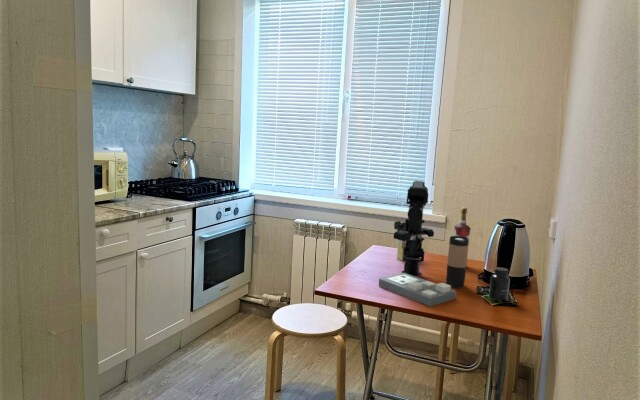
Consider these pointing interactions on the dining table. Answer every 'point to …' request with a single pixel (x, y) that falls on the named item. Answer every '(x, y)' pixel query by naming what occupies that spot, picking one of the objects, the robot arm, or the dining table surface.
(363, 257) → the dining table surface
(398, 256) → the candy box
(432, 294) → the button
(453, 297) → the button board
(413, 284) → the button
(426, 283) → the button
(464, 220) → the liquor
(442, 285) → the button
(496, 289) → the supplement bottle
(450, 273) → the travel mug
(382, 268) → the dining table surface
